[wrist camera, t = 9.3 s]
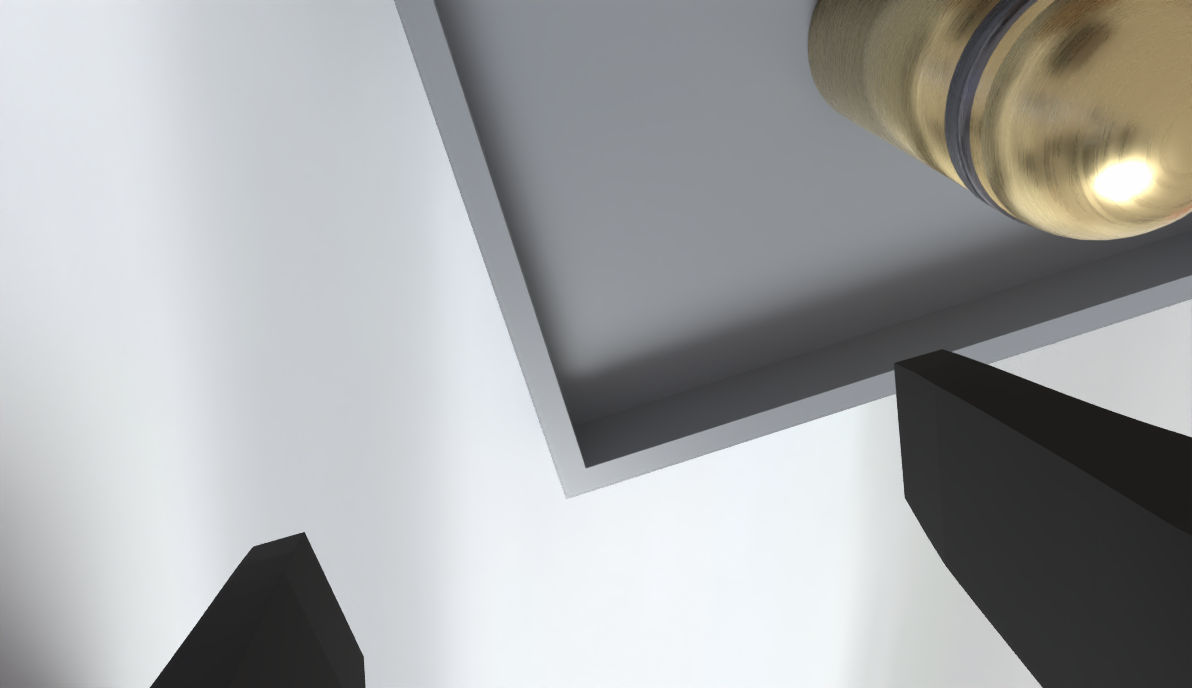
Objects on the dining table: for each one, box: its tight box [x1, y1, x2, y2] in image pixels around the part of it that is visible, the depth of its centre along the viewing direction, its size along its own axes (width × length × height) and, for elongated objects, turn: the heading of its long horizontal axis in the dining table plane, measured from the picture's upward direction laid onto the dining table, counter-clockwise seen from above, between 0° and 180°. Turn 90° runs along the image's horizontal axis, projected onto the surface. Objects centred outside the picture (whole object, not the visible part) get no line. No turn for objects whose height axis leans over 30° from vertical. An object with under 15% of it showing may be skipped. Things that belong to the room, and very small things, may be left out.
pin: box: [808, 0, 1192, 240], centre depth 15 cm, size 4×4×8 cm
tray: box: [394, 0, 1192, 499], centre depth 18 cm, size 18×14×2 cm
